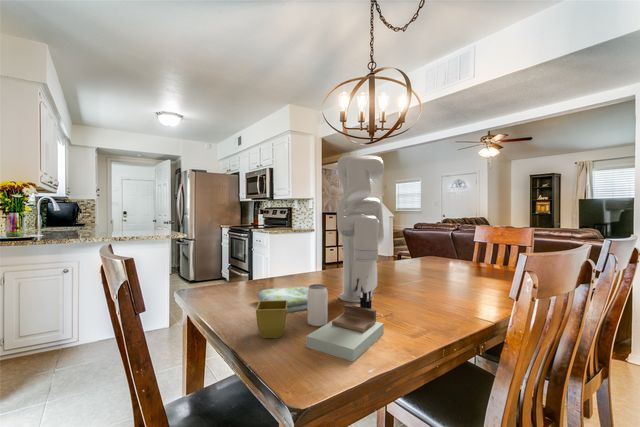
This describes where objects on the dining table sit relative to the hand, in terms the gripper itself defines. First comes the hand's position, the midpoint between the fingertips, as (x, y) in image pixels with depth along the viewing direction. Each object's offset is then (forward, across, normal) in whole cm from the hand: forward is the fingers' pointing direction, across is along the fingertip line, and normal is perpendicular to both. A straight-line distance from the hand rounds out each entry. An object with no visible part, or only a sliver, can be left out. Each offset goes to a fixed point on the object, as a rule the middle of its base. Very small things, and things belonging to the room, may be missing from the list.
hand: (365, 312), depth 96 cm
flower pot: (+4, +21, -20) cm, 30 cm away
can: (+4, +6, -14) cm, 16 cm away
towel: (+5, -5, -34) cm, 35 cm away
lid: (+1, +8, 0) cm, 8 cm away
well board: (+4, +12, 0) cm, 13 cm away
